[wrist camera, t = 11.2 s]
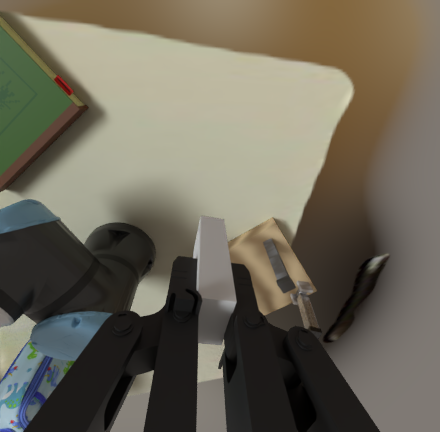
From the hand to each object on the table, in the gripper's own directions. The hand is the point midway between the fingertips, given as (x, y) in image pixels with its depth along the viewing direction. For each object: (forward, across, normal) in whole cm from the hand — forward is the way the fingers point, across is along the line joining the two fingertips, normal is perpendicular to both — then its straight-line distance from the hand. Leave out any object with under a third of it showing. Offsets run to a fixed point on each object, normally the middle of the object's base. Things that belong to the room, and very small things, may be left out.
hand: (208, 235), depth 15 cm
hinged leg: (+23, +28, -30) cm, 47 cm away
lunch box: (+33, -30, -71) cm, 83 cm away
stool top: (+32, +18, -30) cm, 48 cm away
